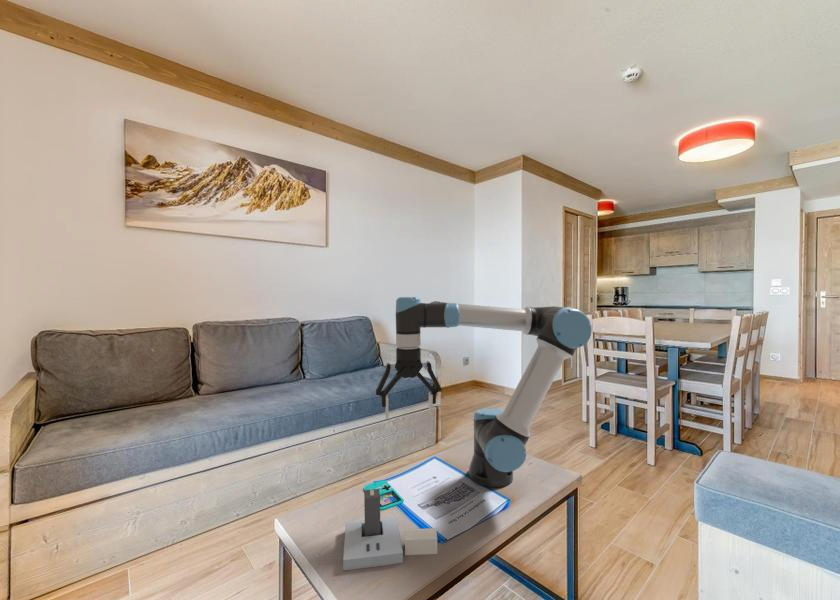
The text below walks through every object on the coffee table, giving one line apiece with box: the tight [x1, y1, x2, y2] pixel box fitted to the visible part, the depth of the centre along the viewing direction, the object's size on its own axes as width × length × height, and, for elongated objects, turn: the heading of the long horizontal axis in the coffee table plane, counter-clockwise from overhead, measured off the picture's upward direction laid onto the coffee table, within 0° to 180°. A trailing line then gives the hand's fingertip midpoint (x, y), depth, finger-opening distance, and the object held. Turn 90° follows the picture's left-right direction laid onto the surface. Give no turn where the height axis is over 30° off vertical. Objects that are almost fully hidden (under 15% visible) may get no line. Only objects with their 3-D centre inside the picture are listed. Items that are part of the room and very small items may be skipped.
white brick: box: [404, 527, 438, 556], centre depth 91 cm, size 8×4×4 cm, turn 93°
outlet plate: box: [342, 516, 404, 571], centre depth 92 cm, size 14×14×3 cm
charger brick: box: [363, 489, 381, 537], centre depth 95 cm, size 4×4×12 cm
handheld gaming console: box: [363, 480, 405, 511], centre depth 115 cm, size 8×1×15 cm
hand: (409, 415), depth 111 cm, fingers open, 13 cm apart
